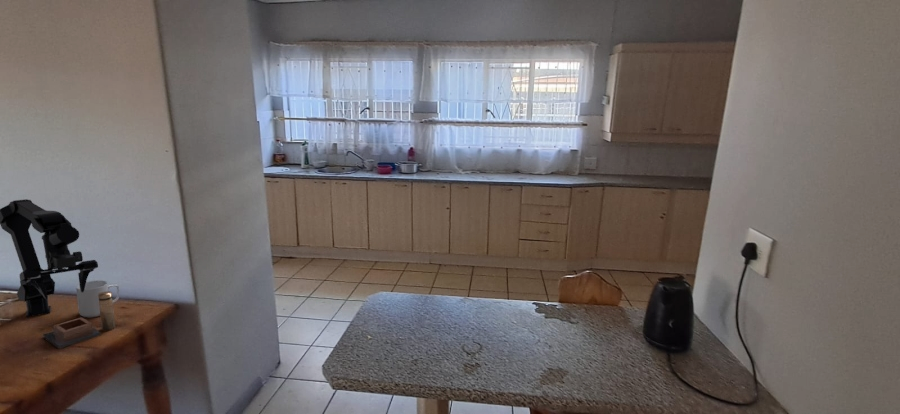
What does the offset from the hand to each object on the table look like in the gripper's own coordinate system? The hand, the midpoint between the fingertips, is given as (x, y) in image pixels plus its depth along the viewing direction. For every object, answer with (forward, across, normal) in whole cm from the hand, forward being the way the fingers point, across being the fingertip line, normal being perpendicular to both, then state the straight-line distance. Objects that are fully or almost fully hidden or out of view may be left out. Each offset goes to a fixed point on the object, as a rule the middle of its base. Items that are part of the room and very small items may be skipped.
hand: (65, 295), depth 142 cm
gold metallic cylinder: (+14, +10, 0) cm, 17 cm away
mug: (+8, +13, +16) cm, 22 cm away
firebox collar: (+14, +1, +3) cm, 14 cm away
